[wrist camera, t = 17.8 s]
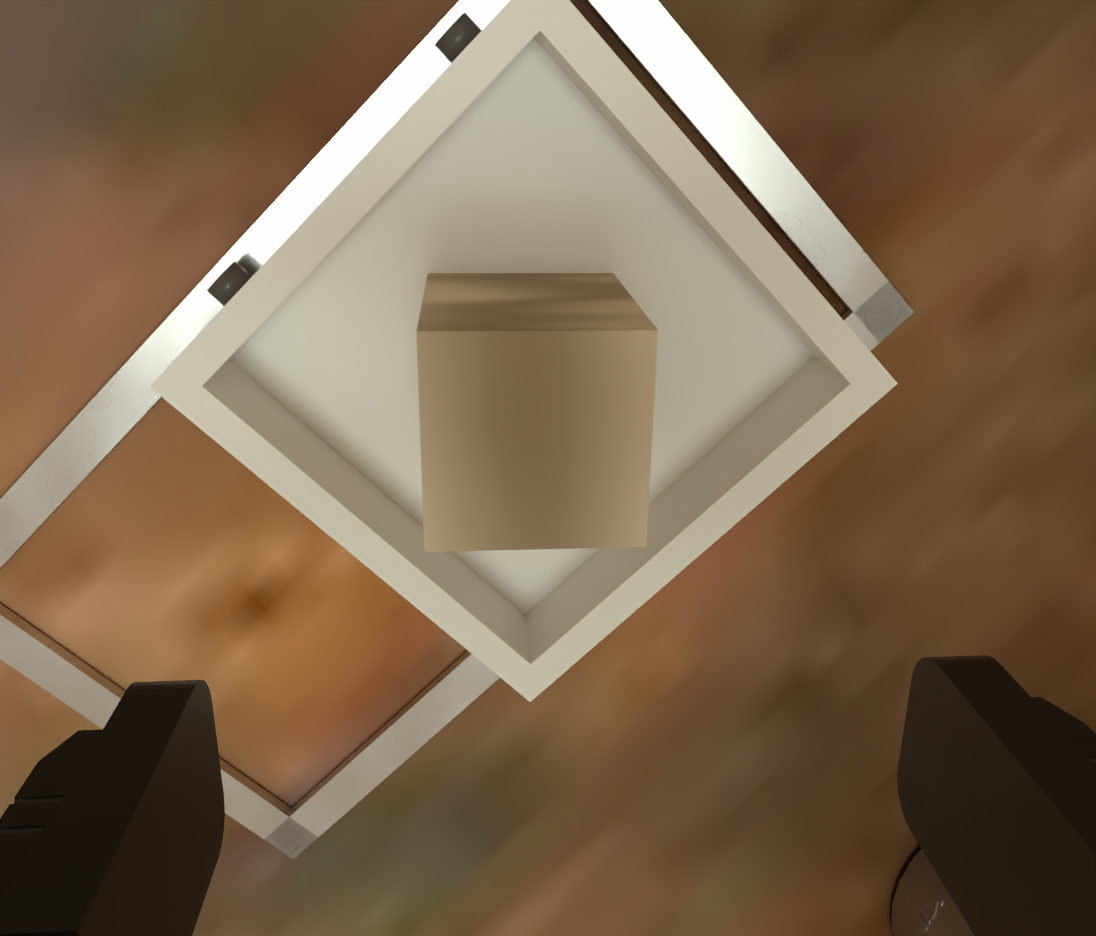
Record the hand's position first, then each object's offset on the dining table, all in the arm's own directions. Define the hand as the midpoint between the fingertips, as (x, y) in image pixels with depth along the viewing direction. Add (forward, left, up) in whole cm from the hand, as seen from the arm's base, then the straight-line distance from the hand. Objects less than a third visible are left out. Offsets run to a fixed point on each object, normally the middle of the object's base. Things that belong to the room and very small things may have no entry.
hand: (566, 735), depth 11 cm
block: (0, 0, -15) cm, 15 cm away
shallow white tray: (0, -1, -17) cm, 17 cm away
